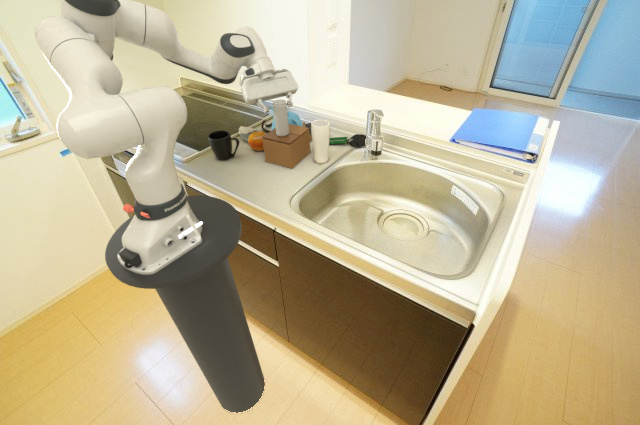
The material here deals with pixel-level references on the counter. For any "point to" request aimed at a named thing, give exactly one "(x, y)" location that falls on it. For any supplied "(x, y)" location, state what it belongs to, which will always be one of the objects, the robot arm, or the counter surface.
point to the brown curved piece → (266, 126)
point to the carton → (288, 148)
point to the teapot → (290, 119)
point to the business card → (338, 140)
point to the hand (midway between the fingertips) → (279, 108)
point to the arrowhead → (246, 130)
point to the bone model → (304, 126)
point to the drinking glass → (320, 140)
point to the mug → (222, 144)
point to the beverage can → (281, 117)
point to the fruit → (256, 140)
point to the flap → (285, 139)
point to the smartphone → (308, 127)
